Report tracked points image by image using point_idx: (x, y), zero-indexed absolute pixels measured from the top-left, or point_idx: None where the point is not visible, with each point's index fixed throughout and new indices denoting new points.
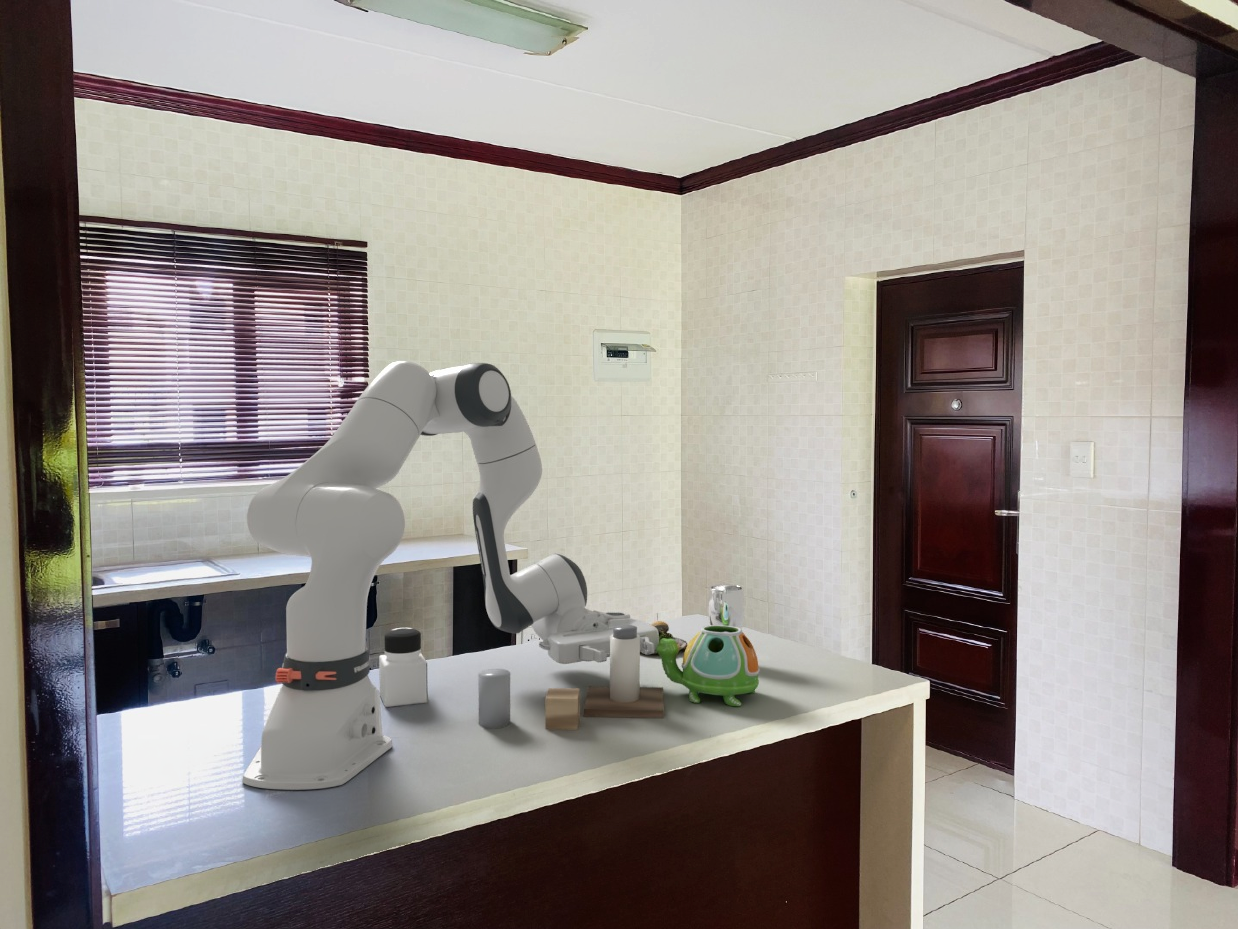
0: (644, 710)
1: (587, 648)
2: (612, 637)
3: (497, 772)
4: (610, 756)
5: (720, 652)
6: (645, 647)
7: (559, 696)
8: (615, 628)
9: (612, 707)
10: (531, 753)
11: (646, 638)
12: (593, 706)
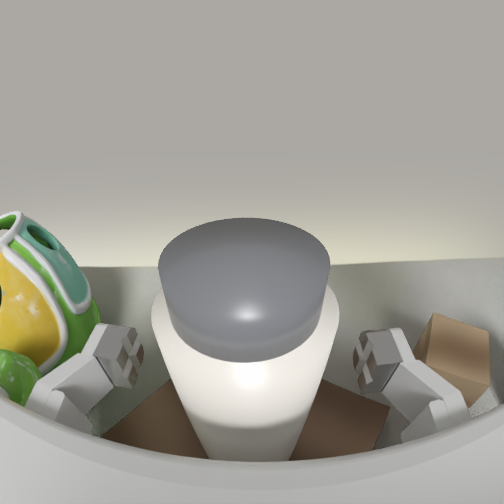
0: None
1: (442, 380)
2: (328, 314)
3: (488, 283)
4: (378, 272)
5: (56, 240)
6: (132, 343)
7: (466, 333)
8: (317, 261)
9: (320, 392)
10: (468, 307)
11: (53, 377)
12: (362, 415)
